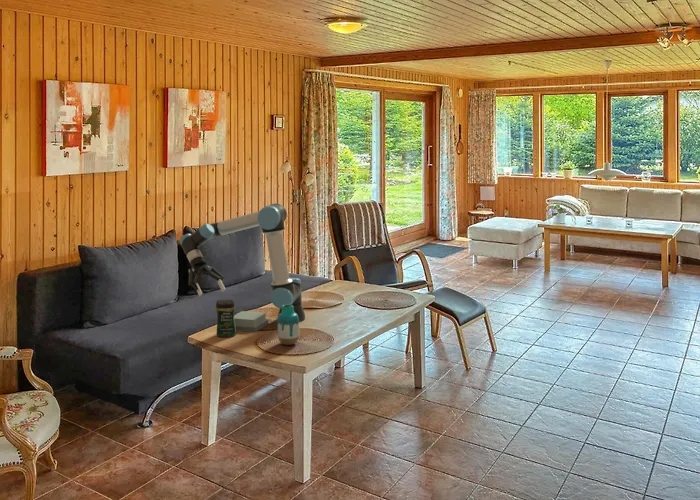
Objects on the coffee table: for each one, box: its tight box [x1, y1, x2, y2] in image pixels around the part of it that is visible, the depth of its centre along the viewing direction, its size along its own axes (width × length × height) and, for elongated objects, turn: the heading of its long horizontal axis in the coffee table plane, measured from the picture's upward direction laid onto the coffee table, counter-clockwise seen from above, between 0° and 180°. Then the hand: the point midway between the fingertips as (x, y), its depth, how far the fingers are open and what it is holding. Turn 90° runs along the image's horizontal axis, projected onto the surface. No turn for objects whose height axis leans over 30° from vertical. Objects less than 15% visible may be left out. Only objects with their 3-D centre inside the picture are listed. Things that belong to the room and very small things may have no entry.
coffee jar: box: [215, 299, 237, 338], centre depth 325 cm, size 10×8×19 cm
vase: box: [276, 304, 300, 346], centre depth 310 cm, size 11×11×19 cm
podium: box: [234, 310, 269, 333], centre depth 341 cm, size 16×16×6 cm
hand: (212, 292), depth 330 cm, fingers open, 13 cm apart
